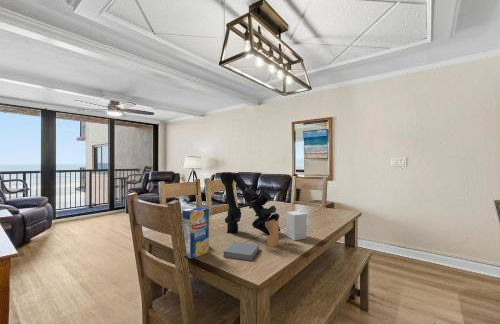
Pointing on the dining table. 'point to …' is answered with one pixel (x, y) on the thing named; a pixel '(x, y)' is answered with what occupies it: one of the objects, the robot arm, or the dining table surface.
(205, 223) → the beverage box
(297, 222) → the supplement box
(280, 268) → the dining table surface
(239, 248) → the display podium
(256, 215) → the robot arm
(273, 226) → the orange carton
